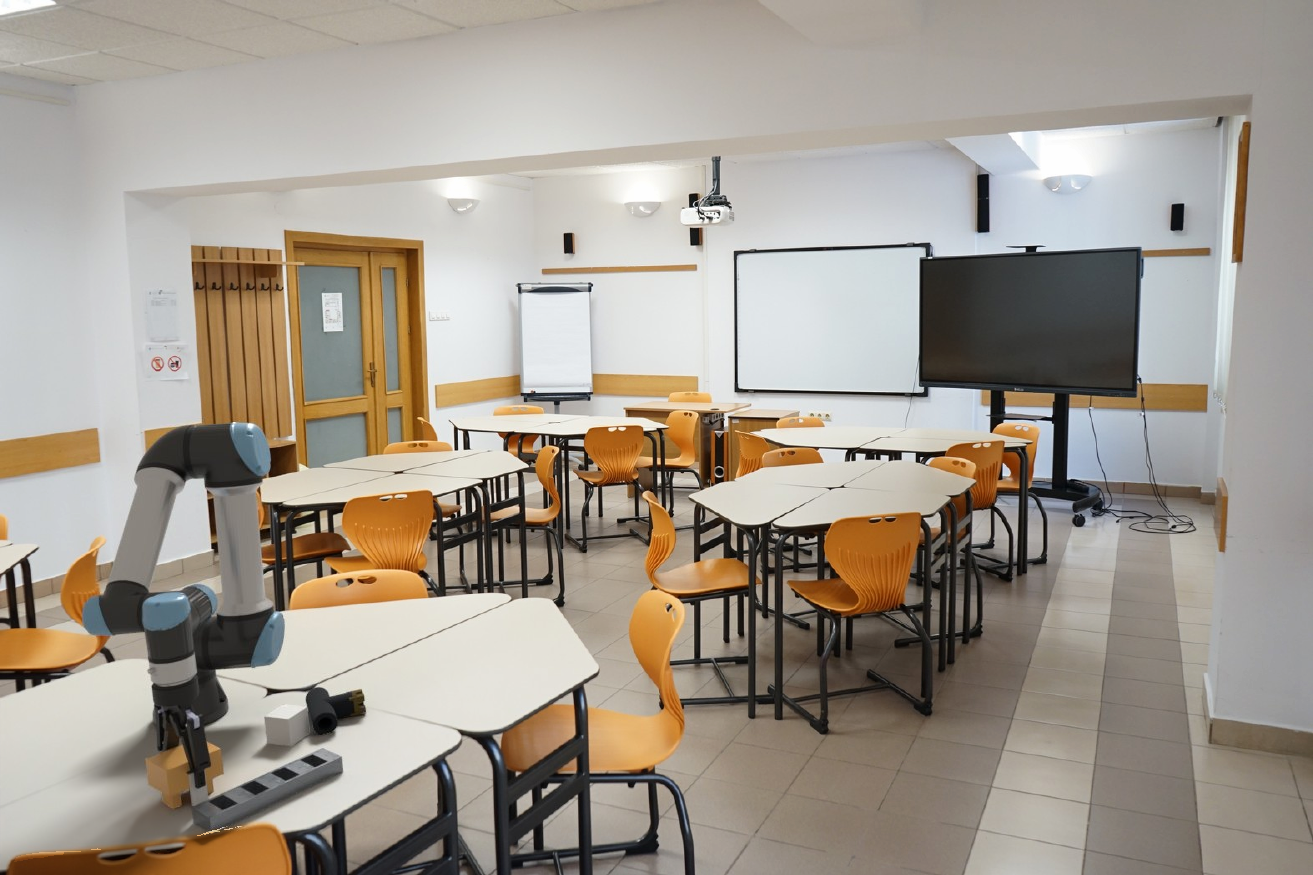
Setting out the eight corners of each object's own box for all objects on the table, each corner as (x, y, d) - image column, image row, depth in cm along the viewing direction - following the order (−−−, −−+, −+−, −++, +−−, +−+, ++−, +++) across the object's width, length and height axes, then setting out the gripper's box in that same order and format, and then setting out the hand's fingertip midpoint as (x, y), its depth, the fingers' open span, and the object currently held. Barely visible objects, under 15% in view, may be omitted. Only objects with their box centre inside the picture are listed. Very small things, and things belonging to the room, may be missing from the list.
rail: (193, 822, 166) (191, 807, 166) (324, 762, 186) (322, 747, 186) (211, 834, 162) (209, 818, 162) (343, 771, 182) (341, 756, 182)
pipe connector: (357, 677, 215) (367, 701, 202) (359, 699, 216) (370, 725, 203) (304, 689, 210) (311, 715, 197) (307, 711, 211) (314, 738, 198)
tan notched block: (150, 802, 174) (145, 758, 172) (204, 779, 181) (199, 737, 180) (171, 815, 169) (166, 771, 167) (225, 791, 177) (220, 748, 175)
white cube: (310, 733, 199) (307, 706, 198) (291, 746, 194) (288, 719, 193) (286, 730, 201) (283, 704, 200) (266, 743, 196) (264, 716, 195)
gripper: (126, 673, 175) (141, 788, 178) (181, 699, 162) (196, 822, 166) (167, 660, 181) (181, 771, 184) (223, 684, 168) (237, 803, 172)
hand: (188, 795), depth 175 cm, fingers closed on tan notched block, 8 cm apart
